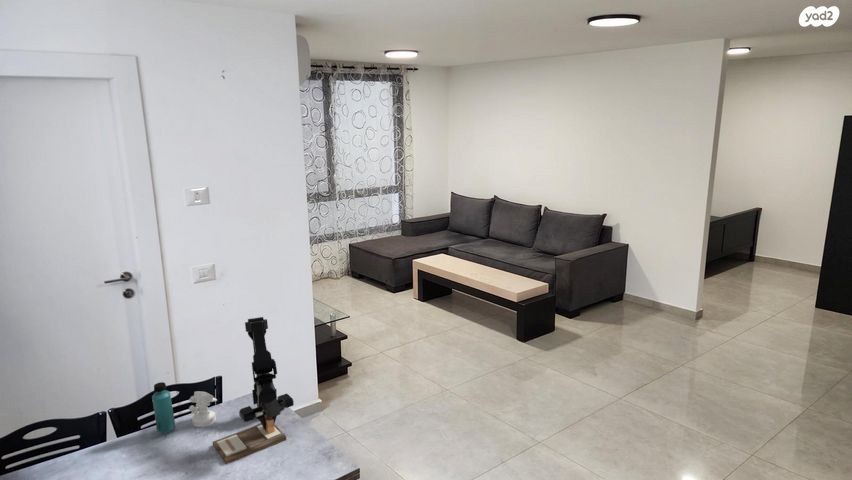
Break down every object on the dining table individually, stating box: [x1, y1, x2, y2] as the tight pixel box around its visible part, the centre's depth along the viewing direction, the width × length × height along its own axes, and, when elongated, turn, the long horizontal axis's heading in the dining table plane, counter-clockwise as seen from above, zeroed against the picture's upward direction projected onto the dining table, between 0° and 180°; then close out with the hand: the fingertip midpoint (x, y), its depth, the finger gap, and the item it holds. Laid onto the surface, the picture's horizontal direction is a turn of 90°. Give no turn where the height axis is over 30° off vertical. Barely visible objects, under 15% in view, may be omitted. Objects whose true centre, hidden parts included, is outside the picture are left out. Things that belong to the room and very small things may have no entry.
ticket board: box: [212, 422, 287, 465], centre depth 194 cm, size 14×22×2 cm, turn 128°
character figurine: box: [188, 390, 218, 428], centre depth 208 cm, size 9×10×12 cm
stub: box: [257, 415, 281, 439], centre depth 198 cm, size 10×5×6 cm, turn 38°
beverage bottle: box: [151, 381, 176, 434], centre depth 200 cm, size 6×7×20 cm
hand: (268, 427), depth 198 cm, fingers closed on stub, 2 cm apart
